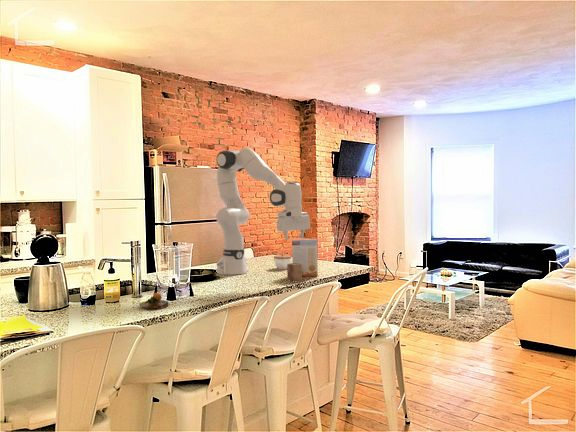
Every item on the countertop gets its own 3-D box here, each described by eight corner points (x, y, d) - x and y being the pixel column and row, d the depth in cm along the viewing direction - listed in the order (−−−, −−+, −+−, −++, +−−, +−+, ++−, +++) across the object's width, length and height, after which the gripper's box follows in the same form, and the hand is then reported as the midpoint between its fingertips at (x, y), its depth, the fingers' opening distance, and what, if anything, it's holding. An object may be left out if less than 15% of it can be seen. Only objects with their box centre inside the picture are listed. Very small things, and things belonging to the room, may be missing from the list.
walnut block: (287, 280, 251) (287, 263, 251) (294, 279, 254) (294, 262, 254) (294, 282, 247) (294, 265, 246) (301, 281, 250) (301, 264, 249)
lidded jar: (271, 269, 287) (271, 254, 287) (277, 266, 297) (277, 252, 297) (288, 270, 284) (288, 254, 283) (293, 267, 294) (293, 252, 294)
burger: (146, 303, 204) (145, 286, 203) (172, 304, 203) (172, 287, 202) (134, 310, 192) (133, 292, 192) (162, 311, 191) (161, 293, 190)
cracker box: (317, 274, 268) (317, 238, 267) (317, 276, 262) (317, 239, 261) (293, 274, 269) (292, 238, 268) (292, 276, 263) (292, 239, 262)
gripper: (305, 211, 257) (305, 236, 258) (274, 213, 245) (275, 239, 246) (312, 212, 252) (313, 237, 253) (282, 213, 240) (282, 240, 241)
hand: (294, 238), depth 249 cm, fingers open, 8 cm apart
